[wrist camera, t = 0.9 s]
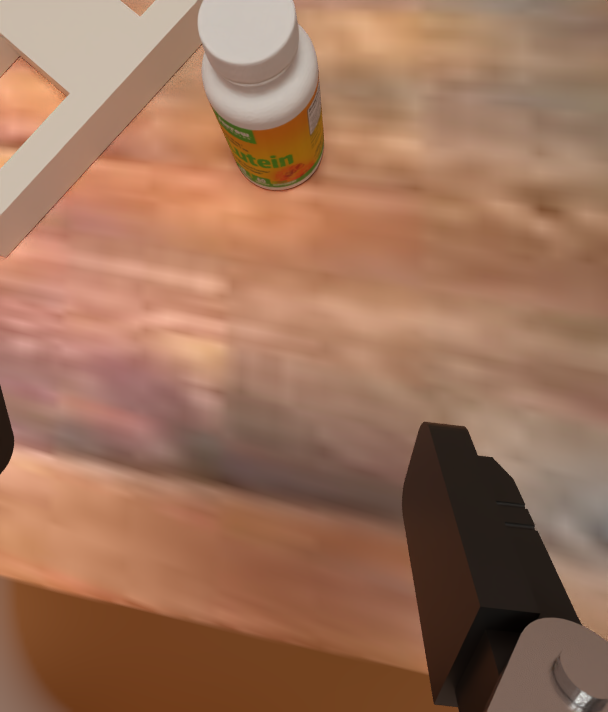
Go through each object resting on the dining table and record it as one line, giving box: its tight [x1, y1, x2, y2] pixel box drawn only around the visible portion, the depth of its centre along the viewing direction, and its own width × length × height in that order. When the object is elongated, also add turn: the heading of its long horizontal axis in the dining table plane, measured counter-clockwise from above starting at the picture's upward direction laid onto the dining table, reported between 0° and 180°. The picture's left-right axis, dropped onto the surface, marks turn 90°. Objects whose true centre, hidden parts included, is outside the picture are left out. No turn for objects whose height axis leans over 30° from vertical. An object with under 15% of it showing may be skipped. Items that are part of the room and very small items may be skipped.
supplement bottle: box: [198, 0, 324, 190], centre depth 23 cm, size 5×5×10 cm
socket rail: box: [0, 0, 203, 258], centre depth 29 cm, size 26×11×2 cm, turn 138°
